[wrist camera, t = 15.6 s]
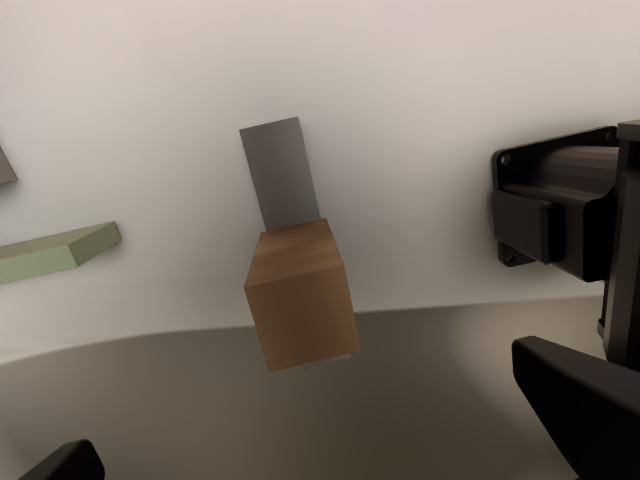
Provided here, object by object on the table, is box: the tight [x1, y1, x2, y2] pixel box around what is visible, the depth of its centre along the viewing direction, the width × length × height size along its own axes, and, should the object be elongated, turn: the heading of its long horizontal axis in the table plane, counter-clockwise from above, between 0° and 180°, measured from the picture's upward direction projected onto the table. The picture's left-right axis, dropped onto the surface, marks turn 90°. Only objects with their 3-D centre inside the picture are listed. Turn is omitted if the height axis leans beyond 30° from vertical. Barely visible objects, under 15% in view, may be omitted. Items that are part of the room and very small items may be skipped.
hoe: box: [239, 117, 361, 372], centre depth 15 cm, size 3×12×9 cm, turn 12°
